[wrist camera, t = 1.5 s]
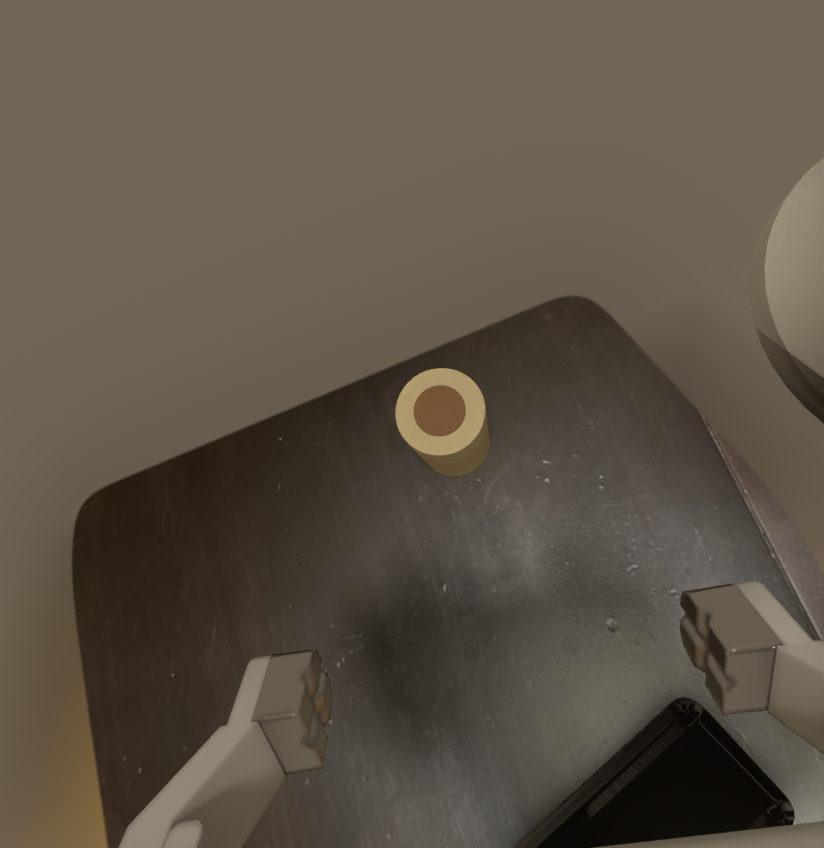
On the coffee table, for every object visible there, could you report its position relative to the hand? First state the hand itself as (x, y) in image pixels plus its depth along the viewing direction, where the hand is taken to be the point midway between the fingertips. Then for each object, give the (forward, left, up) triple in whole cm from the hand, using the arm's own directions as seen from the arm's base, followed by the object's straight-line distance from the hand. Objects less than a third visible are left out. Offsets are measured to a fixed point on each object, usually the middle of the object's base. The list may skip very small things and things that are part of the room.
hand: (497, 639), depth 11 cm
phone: (+4, +16, -25) cm, 30 cm away
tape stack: (-4, -9, -25) cm, 27 cm away
